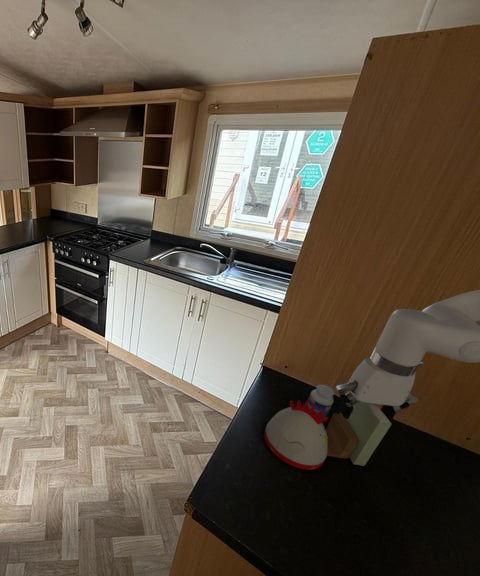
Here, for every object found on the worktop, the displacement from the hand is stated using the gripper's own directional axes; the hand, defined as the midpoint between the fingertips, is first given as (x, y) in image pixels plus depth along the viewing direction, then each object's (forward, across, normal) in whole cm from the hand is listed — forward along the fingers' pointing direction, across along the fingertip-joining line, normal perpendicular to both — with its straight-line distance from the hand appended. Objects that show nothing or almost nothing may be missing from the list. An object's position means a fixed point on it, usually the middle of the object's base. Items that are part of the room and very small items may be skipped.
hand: (363, 416), depth 77 cm
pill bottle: (+11, +4, -10) cm, 15 cm away
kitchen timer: (+11, +14, +2) cm, 18 cm away
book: (+3, -1, 0) cm, 3 cm away
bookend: (+11, +4, 0) cm, 12 cm away
